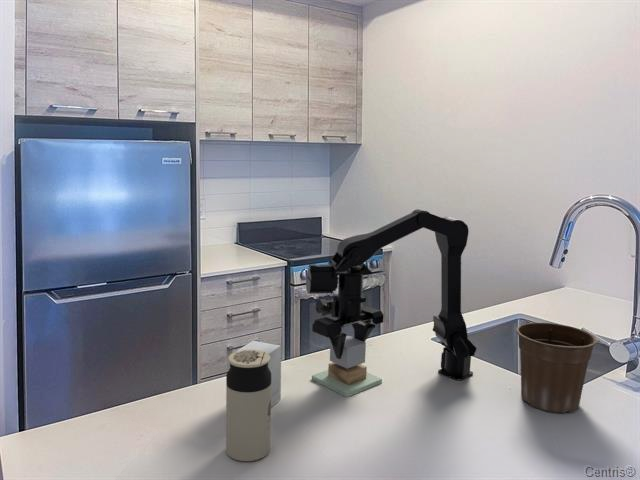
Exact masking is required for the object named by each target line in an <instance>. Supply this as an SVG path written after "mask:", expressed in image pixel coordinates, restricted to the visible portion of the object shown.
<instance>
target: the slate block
mask: <svg viewBox="0 0 640 480" xmlns="http://www.w3.org/2000/svg"><path fill="white" fill-rule="evenodd" d="M329 343H330V344H329V361H330V362H331V363H332V362H334V363H336V364H338V365H340V366H342V367H345V368H350V367H353V366H356V365H359V364H361V365H363V364H365V363H366V352H367V350H366V349H367V348H366V344H367V342H366V341H365V342H363V341H361V340H358V339H356V338H354V336H351V335H346V340H345V344H344V348H343V352H342V355H341V358H340V359H337V358H336V355H335V352H334V349H333V346H332V343H331V341H329Z"/></svg>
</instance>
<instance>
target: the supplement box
mask: <svg viewBox="0 0 640 480" xmlns="http://www.w3.org/2000/svg"><path fill="white" fill-rule="evenodd" d="M240 350H260V351H264V352H266V353H268V354H269V356H270V361H269V362H268V368H269V370H270V372H271V408H272V407H274V406H275V405H277V403H278V402H279V401H280V400H282V399H281V398H282V397H281V396H282V390H281V389H282V385H281V384H282V345H279V344H272V343H268V342H263V341H257V340H252V341H250V342H249V343H247V344H246V345H244V346H242V347H240V348H239V349H237V350H235V352H237V351H240Z"/></svg>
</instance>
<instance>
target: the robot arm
mask: <svg viewBox="0 0 640 480" xmlns="http://www.w3.org/2000/svg"><path fill="white" fill-rule="evenodd" d="M421 229H427V230H428V231H431V232H434V236H435V241H436V245H437V248H438V249H439V252H440V255H441V257H440V258H441V259H440V261H441V269H440V270H441V275H440V276H441V277H440V278H441V279H440V281H441V284H440V285H441V289H440V290H441V293H440V294H441V296H440V297H441V300H440V301H441V302H440V303H441V309H440V312H439V314H438V315H433V316H432V320H433V327H432V331H433V332H434V333H435V334H434V335H435V336H436V338H437V339H438V340H439V341H440V344H441V346H443V349H442V352H441V358H440V369H438V373H439V374H441V375H444V376H446V377H449V378H452V379H454V380H457V381H461V380H463V379H466V378H468V377H470V376H473V375H474V372H473V371H472V370H471V360H472V357H474V356H475V354H476V351H477V347H476V345H474V344H473V343H472V342H471V341H470V340H469V339H468V338H469V335H468V330H467V324H466V321H465V318H464V317H463V316H464V315H463V314H462V255H463V253H464V251H465V248H466V247H467V244H468V238H469V232H470V231H469V227H468V224H466V223H465V221H462V220H460V219H457V218H453V217H449V216H444V217H441V216H438V215H436V214H432V213H430V211H427V210H424V209H418V208H417V209H414V210H413V211H412V212H410V213H407V214H406V215H404V216H402V217H400V218H398V219H395V220H394V221H392V222H390V223H388V224H386V225H383V226H381V227H380V228H377V229H375V230H373V231H371V232H368V233H362V234H356V235H353V236H350V237H347V238H343V239H342V240H341V241H339V243H338V245H337V250H336V252H335V253H334V255H333V256H332V257H331V259H330V260H329V261H328V263H327V264H316V263H315V264H314V263H310V264H308V269H307V271H306V276H305V287H306V289H305V290H306V292H307V293H306V294H308V295H319V294H322V295H323V294H324V295H325V294H333V293H334V292H336V290H337V289H338V290H337V295H336V294H335V295H333V298H332V300H330V301H327V299H326V298H322V299H318V300H315V311H316V313H317V314H321V316H322V317H321V318H317V319H315V320H314V321H312V324H311V325H312V329H311V330H312V331H311V332H313V333H316V334H318V335H321V336H323V337H325V338H328V339H329V340H330V341H331V343H332V346H333V349H334V352H335V355H336V358H337V359H340V358H341V355H342V352H343V348H344V344H345V340H346V336H348V334H347V333H344V332H343V330H344V329H343V328H344V327H347V326H350V325H352V326H351V327H353V331H354V332H353V333H354V336H353V338H356V339H358V340H361V341H363V342H366V341H367V339H368V338H369V336H370V334H371V332H372V331H373V330H374V329H375V328H376V325H378V324H382V323H384V317H385V316H384V313H383V312H382V310H380V309H376V308H374V307H370V306H365V307H363V303H366V301H367V297H365V296H363V283H364V278H363V277H364V276H366V275H368V276H369V275H372V274H373V271H372V270H371V269H369V268H368V266H367V264H366V262H367V261H368V260H370V259H371V258H372V257H374V255H375V254H377V252H378V251H379V250H381V249H382V248H384V247H387V246H388V245H389V246H390V244H393V243H394V242H397V241H399V240H401V239H402V238H406V237H407V236H409V235H411V234H413V233H415V232H417V231H420V230H421ZM327 315H330V316H331V317H332V318H330V317H327ZM325 316H326V317H325ZM333 318H337V319H333ZM330 341H329V342H330Z"/></svg>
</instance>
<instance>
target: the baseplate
mask: <svg viewBox="0 0 640 480" xmlns="http://www.w3.org/2000/svg"><path fill="white" fill-rule="evenodd" d="M311 380H313V381H314V382H317V383H318V384H320V385H322V386H324V387H326V388H328V389H330V390H332V391H334V392H336V393H338V394H340V395H341V396H344V397H345V398H348V397H350V396H353V395H355V394H357V393H360V392H362V391H364V390H368V389H370V388H372V387H376V386H377V385H381V384H382V383H383V378H382V377H378V376H376V375H374V374H373V373H370V372H367V371H366V379H364V380H361V381H359V382H356V383H353V384H351V385H347V384H345V383H342V382H340V381H338V380H336V379H334V378H332V377H330V376H328V369H326V370H322V371H320V372H317V373H315V374H311Z"/></svg>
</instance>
